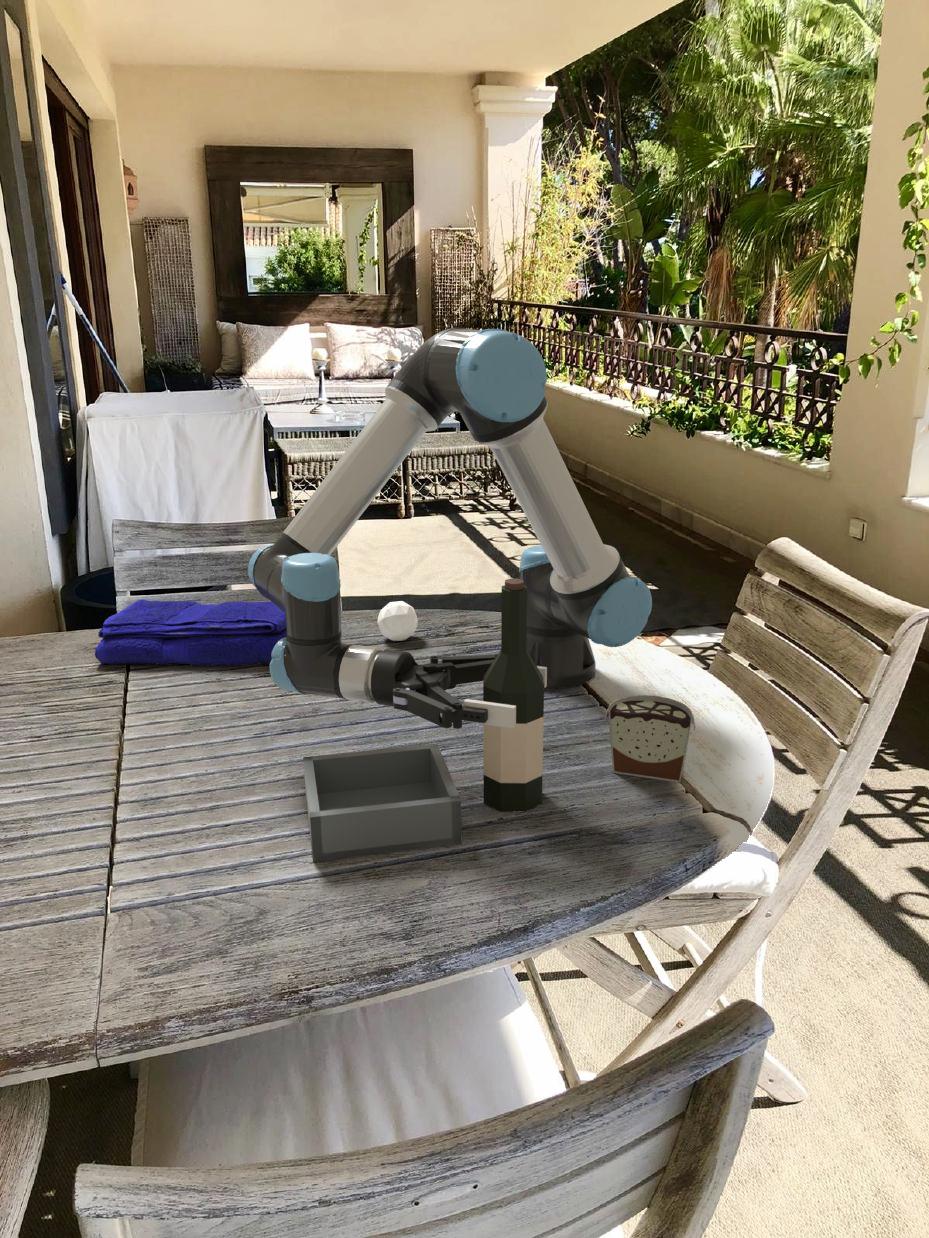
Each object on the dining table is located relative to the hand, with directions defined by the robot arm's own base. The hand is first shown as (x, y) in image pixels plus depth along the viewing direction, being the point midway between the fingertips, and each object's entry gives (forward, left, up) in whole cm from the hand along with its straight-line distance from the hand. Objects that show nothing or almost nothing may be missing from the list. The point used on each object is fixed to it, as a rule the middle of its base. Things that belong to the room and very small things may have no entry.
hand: (531, 696), depth 125 cm
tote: (+20, +1, -15) cm, 25 cm away
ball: (+8, -67, -15) cm, 70 cm away
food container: (-19, -5, -15) cm, 25 cm away
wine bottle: (+2, -1, -15) cm, 15 cm away
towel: (+44, -73, -16) cm, 87 cm away
